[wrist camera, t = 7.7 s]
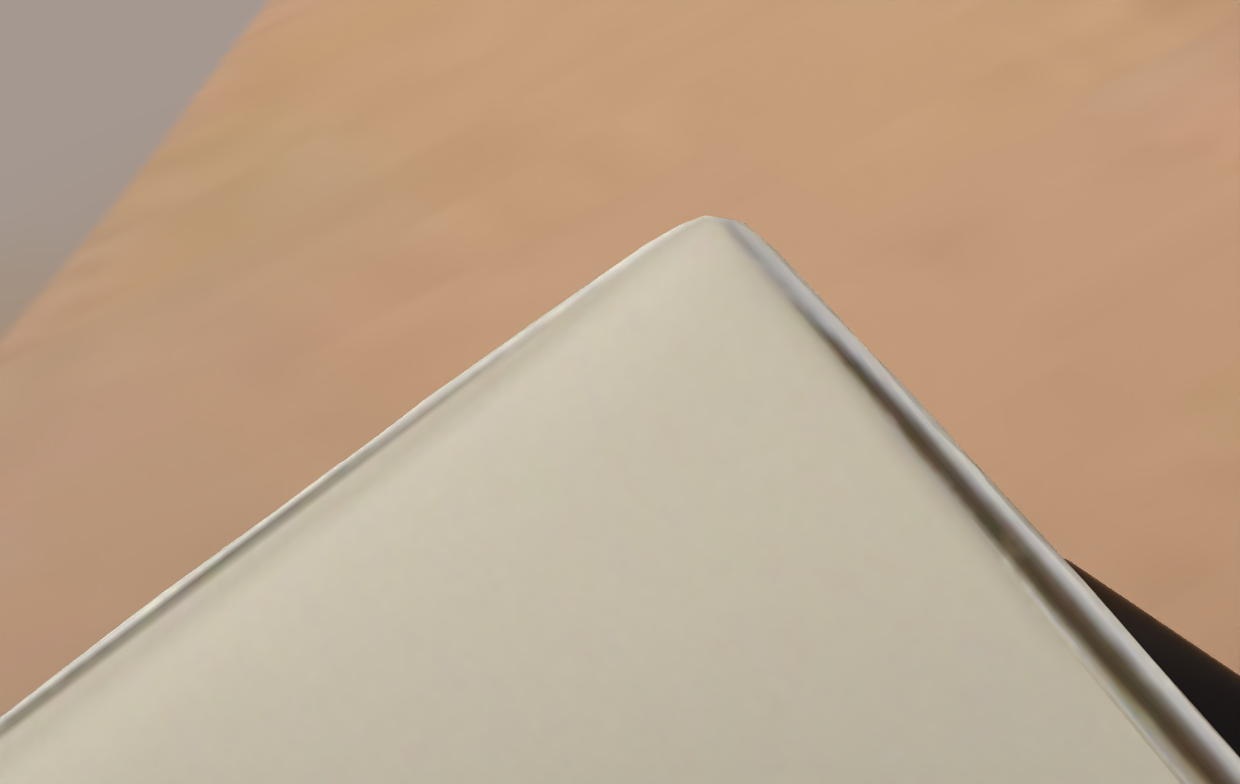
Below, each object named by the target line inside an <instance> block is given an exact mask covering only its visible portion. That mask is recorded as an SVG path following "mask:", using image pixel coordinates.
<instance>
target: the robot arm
mask: <svg viewBox="0 0 1240 784" xmlns="http://www.w3.org/2000/svg"><path fill="white" fill-rule="evenodd" d="M1063 559H1064V558H1063ZM1064 560H1065V561H1066V562H1067V563H1068V564H1069V565H1070V566H1071V567H1072V568H1073V569H1074V571H1075V572H1076V573H1077V574H1078V575H1079V576H1080V577H1081V578H1082V579H1083V580H1084V581H1085V583H1086V584H1087V585H1088V586H1089V587H1090V588H1091V590H1092V591H1093V592H1094V593H1095V594H1096V595H1097V596H1098V598H1099V599H1100V600H1101V601H1102V602H1103V603H1104V604H1105V606H1106V607H1107V608H1108V609H1109V610H1110V611H1111V612H1112V614H1113V615H1114V616H1115V617H1116V618H1117V619H1118V620H1119V622H1120V623H1121V624H1122V625H1123V626H1124V627H1125V628H1126V630H1127V631H1128V632H1129V633H1130V634H1131V635H1132V636H1133V638H1134V639H1135V640H1136V641H1137V642H1138V643H1139V644H1140V646H1141V647H1142V648H1143V649H1144V650H1145V651H1146V652H1147V654H1148V655H1149V656H1150V657H1151V658H1152V659H1153V660H1154V662H1155V663H1156V664H1157V665H1158V666H1159V667H1160V668H1161V669H1162V671H1163V672H1164V673H1165V674H1166V675H1167V676H1168V677H1169V678H1170V680H1171V681H1172V682H1173V683H1174V684H1175V685H1176V686H1177V687H1178V689H1179V690H1180V691H1181V692H1182V693H1183V694H1184V695H1185V696H1186V698H1187V699H1188V700H1189V701H1190V702H1191V703H1192V704H1193V705H1194V707H1195V708H1196V709H1197V710H1198V711H1199V712H1200V713H1201V714H1202V716H1203V717H1204V718H1205V719H1206V720H1207V721H1208V722H1209V723H1210V725H1211V726H1212V727H1213V728H1214V729H1215V730H1216V731H1217V732H1218V734H1219V735H1220V736H1221V737H1222V738H1223V739H1224V740H1225V741H1226V743H1227V744H1228V745H1229V746H1230V747H1231V748H1232V749H1233V750H1234V752H1235V753H1236V754H1237V755H1238V756H1239V757H1240V676H1239V675H1238V674H1236V673H1235V672H1233V671H1232V670H1231V669H1229V668H1228V667H1226V666H1225V665H1223V664H1222V663H1220V662H1219V661H1217V660H1216V659H1214V658H1213V657H1211V656H1210V655H1208V654H1207V653H1205V652H1204V651H1202V650H1201V649H1199V648H1198V647H1196V646H1195V645H1193V644H1192V643H1190V642H1189V641H1187V640H1186V639H1184V638H1183V637H1182V636H1180V635H1179V634H1177V633H1176V632H1174V631H1173V630H1171V629H1170V628H1168V627H1167V626H1165V625H1164V624H1162V623H1161V622H1159V621H1158V620H1156V619H1155V618H1153V617H1152V616H1150V615H1149V614H1147V613H1146V612H1144V611H1143V610H1141V609H1140V608H1138V607H1137V606H1136V605H1134V604H1133V603H1131V602H1130V601H1128V600H1127V599H1125V598H1124V597H1122V596H1121V595H1119V594H1118V593H1116V592H1115V591H1113V590H1112V589H1110V588H1109V587H1107V586H1106V585H1104V584H1103V583H1101V582H1100V581H1098V580H1097V579H1095V578H1094V577H1092V576H1091V575H1089V574H1088V573H1087V572H1085V571H1084V570H1082V569H1081V568H1079V567H1078V566H1076V565H1075V564H1073V563H1072V562H1070V561H1068V560H1066V559H1064Z"/></svg>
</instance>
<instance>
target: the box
mask: <svg viewBox="0 0 1240 784" xmlns="http://www.w3.org/2000/svg"><path fill="white" fill-rule="evenodd" d="M0 784H1240V757H1239V756H1238V755H1237V754H1236V753H1235V752H1234V750H1233V749H1232V748H1231V747H1230V746H1229V745H1228V744H1227V743H1226V741H1225V740H1224V739H1223V738H1222V737H1221V736H1220V735H1219V734H1218V732H1217V731H1216V730H1215V729H1214V728H1213V727H1212V726H1211V725H1210V723H1209V722H1208V721H1207V720H1206V719H1205V718H1204V717H1203V716H1202V714H1201V713H1200V712H1199V711H1198V710H1197V709H1196V708H1195V707H1194V705H1193V704H1192V703H1191V702H1190V701H1189V700H1188V699H1187V698H1186V696H1185V695H1184V694H1183V693H1182V692H1181V691H1180V690H1179V689H1178V687H1177V686H1176V685H1175V684H1174V683H1173V682H1172V681H1171V680H1170V678H1169V677H1168V676H1167V675H1166V674H1165V673H1164V672H1163V671H1162V669H1161V668H1160V667H1159V666H1158V665H1157V664H1156V663H1155V662H1154V660H1153V659H1152V658H1151V657H1150V656H1149V655H1148V654H1147V652H1146V651H1145V650H1144V649H1143V648H1142V647H1141V646H1140V644H1139V643H1138V642H1137V641H1136V640H1135V639H1134V638H1133V636H1132V635H1131V634H1130V633H1129V632H1128V631H1127V630H1126V628H1125V627H1124V626H1123V625H1122V624H1121V623H1120V622H1119V620H1118V619H1117V618H1116V617H1115V616H1114V615H1113V614H1112V612H1111V611H1110V610H1109V609H1108V608H1107V607H1106V606H1105V604H1104V603H1103V602H1102V601H1101V600H1100V599H1099V598H1098V596H1097V595H1096V594H1095V593H1094V592H1093V591H1092V590H1091V588H1090V587H1089V586H1088V585H1087V584H1086V583H1085V581H1084V580H1083V579H1082V578H1081V577H1080V576H1079V575H1078V574H1077V573H1076V572H1075V571H1074V569H1073V568H1072V567H1071V566H1070V565H1069V564H1068V563H1067V562H1066V561H1065V560H1064V559H1063V557H1062V556H1061V555H1060V554H1059V553H1058V552H1057V551H1056V550H1055V549H1054V548H1053V547H1052V546H1051V544H1050V543H1049V542H1048V541H1047V540H1046V539H1045V538H1044V537H1043V536H1042V535H1041V534H1040V533H1039V531H1038V530H1037V529H1036V528H1035V527H1034V526H1033V525H1032V524H1031V523H1030V522H1029V521H1028V519H1027V518H1026V517H1025V516H1024V515H1023V514H1022V513H1021V512H1020V511H1019V510H1018V509H1017V508H1016V506H1015V505H1014V504H1013V503H1012V502H1011V501H1010V500H1009V499H1008V498H1007V497H1006V496H1005V495H1004V493H1003V492H1002V491H1001V490H1000V489H999V488H998V487H997V486H996V485H995V484H994V483H993V482H992V481H991V480H990V479H989V478H988V477H987V476H986V474H985V473H984V472H983V471H982V470H981V469H980V468H979V467H978V466H977V465H976V464H975V463H974V462H973V461H972V460H971V459H970V458H969V457H968V455H967V454H966V453H965V452H964V451H963V450H962V449H961V448H960V447H959V446H958V445H957V444H956V442H955V441H954V440H953V439H952V438H951V436H950V435H949V434H948V433H947V432H946V430H945V429H944V428H943V427H942V426H941V425H940V424H939V423H938V422H937V421H936V420H935V418H934V417H933V416H932V415H931V414H930V413H929V412H928V411H927V410H926V409H925V408H924V407H923V405H922V404H921V403H920V402H919V401H918V400H917V399H916V398H915V397H914V396H913V395H912V394H911V392H910V391H909V390H908V389H907V388H906V387H905V386H904V385H903V384H902V383H901V382H900V381H899V380H898V379H897V378H896V377H895V376H894V375H893V374H892V373H891V372H890V371H889V370H888V369H887V368H886V367H885V366H884V365H883V364H882V363H881V362H880V361H879V360H878V359H877V358H876V357H875V356H874V355H873V354H872V353H871V352H870V351H869V350H868V349H867V348H866V347H865V346H864V345H863V344H862V343H861V341H860V340H859V339H858V338H857V337H856V336H855V335H854V334H853V333H852V332H851V330H850V329H849V328H848V327H847V326H846V325H845V324H844V323H843V322H842V320H841V319H840V318H839V317H838V316H837V315H836V314H835V313H834V312H833V311H832V309H831V308H830V307H829V306H828V305H827V304H826V303H825V302H824V301H823V299H822V298H821V297H820V296H819V295H818V294H817V293H816V292H815V291H814V290H813V289H812V288H811V287H810V286H809V284H808V283H807V282H806V281H805V280H804V279H803V278H802V277H801V276H800V275H799V274H798V273H797V272H796V271H795V270H794V269H793V268H792V267H791V265H790V264H789V263H788V262H787V261H786V260H785V259H784V258H783V257H782V256H781V255H780V254H779V253H778V252H777V251H776V250H775V249H774V248H773V247H772V246H771V245H769V244H768V243H767V242H766V241H765V240H764V239H763V238H761V237H760V236H759V235H758V234H757V233H756V232H755V231H753V230H752V229H751V228H750V227H749V226H748V225H747V224H745V223H742V222H739V221H736V220H733V219H727V218H720V217H713V216H706V215H705V216H702V217H700V218H697V219H694V220H691V221H689V222H686V223H683V224H680V225H679V226H677V227H675V228H673V229H672V230H670V231H668V232H666V233H665V234H663V235H661V236H659V237H657V238H656V239H654V240H652V241H650V242H649V243H647V244H646V245H644V246H643V247H641V248H640V249H638V250H637V251H635V252H634V253H633V254H631V255H630V256H628V257H627V258H625V259H624V260H622V261H621V262H619V263H618V264H617V265H615V266H614V267H612V268H611V269H609V270H608V271H606V272H605V273H603V274H602V275H601V276H599V277H598V278H596V279H595V280H593V281H592V282H591V283H589V284H588V285H586V286H585V287H583V288H582V289H581V290H579V291H578V292H576V293H575V294H573V295H572V296H570V297H569V298H568V299H566V300H565V301H563V302H562V303H560V304H559V305H558V306H556V307H555V308H553V309H552V310H550V311H549V312H548V313H546V314H545V315H543V316H542V317H540V318H539V319H537V320H536V321H535V322H533V323H532V324H530V325H529V326H527V327H526V328H525V329H523V330H522V331H520V332H519V333H518V334H516V335H515V336H513V337H512V338H511V339H509V340H508V341H506V342H505V343H504V344H502V345H501V346H499V347H498V348H497V349H495V350H494V351H492V352H491V353H490V354H488V355H487V356H485V357H484V358H483V359H481V360H480V361H478V362H477V363H476V364H474V365H473V366H471V367H470V368H469V369H467V370H466V371H464V372H463V373H461V374H460V375H459V376H457V377H456V378H454V379H453V380H452V381H450V382H449V383H447V384H446V385H444V386H443V387H442V388H440V389H439V390H437V391H436V392H434V393H433V394H432V395H430V396H429V397H428V398H426V399H425V400H424V401H422V402H421V403H420V404H418V405H417V406H416V407H414V408H413V409H412V410H410V411H409V412H408V413H407V414H405V415H404V416H403V417H401V418H400V419H399V420H397V421H396V422H395V423H393V424H392V425H391V426H389V427H388V428H387V429H386V430H384V431H383V432H382V433H380V434H379V435H378V436H376V437H375V438H374V439H372V440H371V441H370V442H369V443H367V444H366V445H365V446H363V447H362V448H361V449H359V450H358V451H356V452H355V453H354V454H352V455H351V456H349V457H348V458H347V459H345V460H344V461H342V462H341V463H340V464H338V465H337V466H335V467H334V468H332V469H331V470H330V471H328V472H327V473H326V474H324V475H323V476H322V477H320V478H319V479H318V480H316V481H315V482H313V483H312V484H311V485H309V486H308V487H307V488H305V489H304V490H303V491H301V492H300V493H299V494H297V495H296V496H295V497H293V498H292V499H291V500H289V501H288V502H287V503H285V504H284V505H283V506H281V507H280V508H279V509H277V510H276V511H274V512H273V513H272V514H270V515H269V516H268V517H266V518H265V519H263V520H262V521H261V522H259V523H258V524H256V525H255V526H254V527H252V528H251V529H250V530H248V531H247V532H245V533H244V534H243V535H241V536H240V537H239V538H237V539H236V540H234V541H233V542H232V543H230V544H229V545H227V546H226V547H225V548H223V549H222V550H221V551H219V552H218V553H216V554H215V555H214V556H212V557H211V558H209V559H208V560H207V561H205V562H204V563H203V564H201V565H200V566H198V567H197V568H196V569H194V570H193V571H192V572H190V573H189V574H187V575H186V576H185V577H183V578H182V579H180V580H179V581H178V582H176V583H175V584H174V585H172V586H171V587H169V588H168V589H167V590H165V591H164V592H163V593H161V594H160V595H158V596H157V597H156V598H154V599H153V600H152V601H150V602H149V603H148V604H146V605H145V606H144V607H143V608H141V609H140V610H139V611H137V612H136V613H135V614H134V615H132V616H131V617H130V618H128V619H127V620H126V621H124V622H123V623H122V624H121V625H119V626H118V627H117V628H115V629H114V630H113V631H112V632H110V633H109V634H108V635H106V636H105V637H104V638H102V639H101V640H100V641H99V642H97V643H96V644H95V645H93V646H92V647H91V648H89V649H88V650H87V651H86V652H84V653H83V654H82V655H80V656H79V657H78V658H77V659H75V660H74V661H73V662H71V663H70V664H69V665H67V666H66V667H65V668H64V669H62V670H61V671H60V672H58V673H57V674H56V675H55V676H53V677H52V678H51V679H49V680H48V681H47V682H45V683H44V684H43V685H42V686H40V687H39V688H38V689H36V690H35V691H34V692H32V693H31V694H30V695H29V696H27V697H26V698H25V699H23V700H22V701H21V702H20V703H18V704H17V705H16V706H14V707H13V708H12V709H10V710H9V711H8V712H7V713H5V714H4V715H3V716H1V717H0Z"/></svg>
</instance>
